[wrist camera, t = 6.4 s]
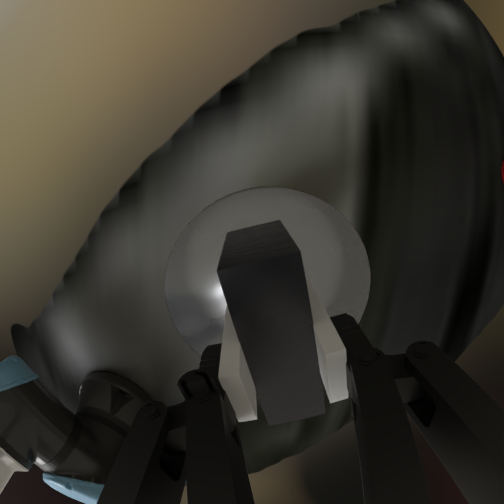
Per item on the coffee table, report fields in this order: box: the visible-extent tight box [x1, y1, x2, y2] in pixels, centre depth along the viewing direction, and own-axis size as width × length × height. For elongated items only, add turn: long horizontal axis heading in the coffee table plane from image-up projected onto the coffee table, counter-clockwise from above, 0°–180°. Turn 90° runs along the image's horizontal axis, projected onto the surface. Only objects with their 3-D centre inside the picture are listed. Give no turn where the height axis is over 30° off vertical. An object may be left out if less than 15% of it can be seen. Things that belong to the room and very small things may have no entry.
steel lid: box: [165, 186, 370, 426], centre depth 14 cm, size 13×13×7 cm
